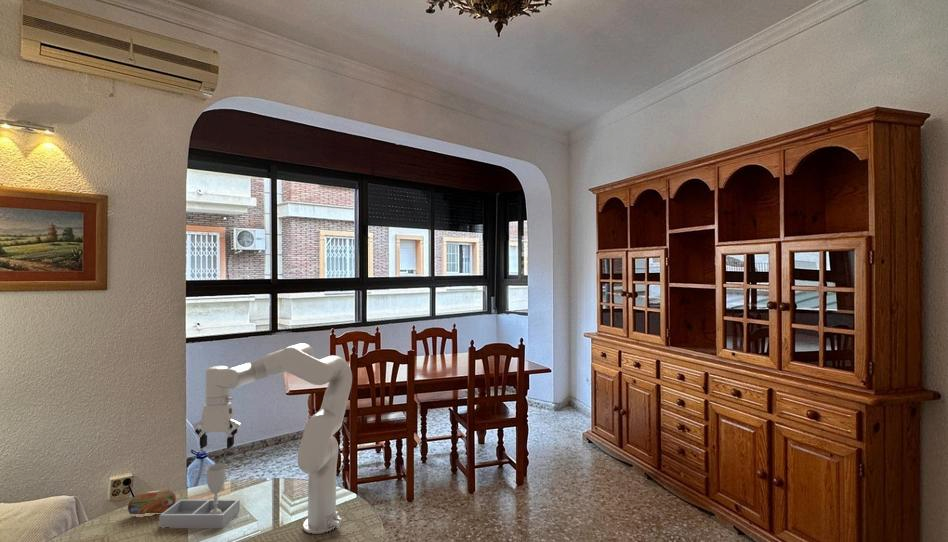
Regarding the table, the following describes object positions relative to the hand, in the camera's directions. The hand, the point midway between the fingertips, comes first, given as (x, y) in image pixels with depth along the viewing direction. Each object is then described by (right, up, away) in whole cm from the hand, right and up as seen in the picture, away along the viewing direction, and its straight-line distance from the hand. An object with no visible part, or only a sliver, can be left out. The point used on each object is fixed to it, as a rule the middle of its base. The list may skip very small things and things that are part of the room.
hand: (216, 447), depth 168 cm
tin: (-26, -27, +3) cm, 37 cm away
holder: (-6, -26, -1) cm, 27 cm away
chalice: (0, -25, -1) cm, 25 cm away
